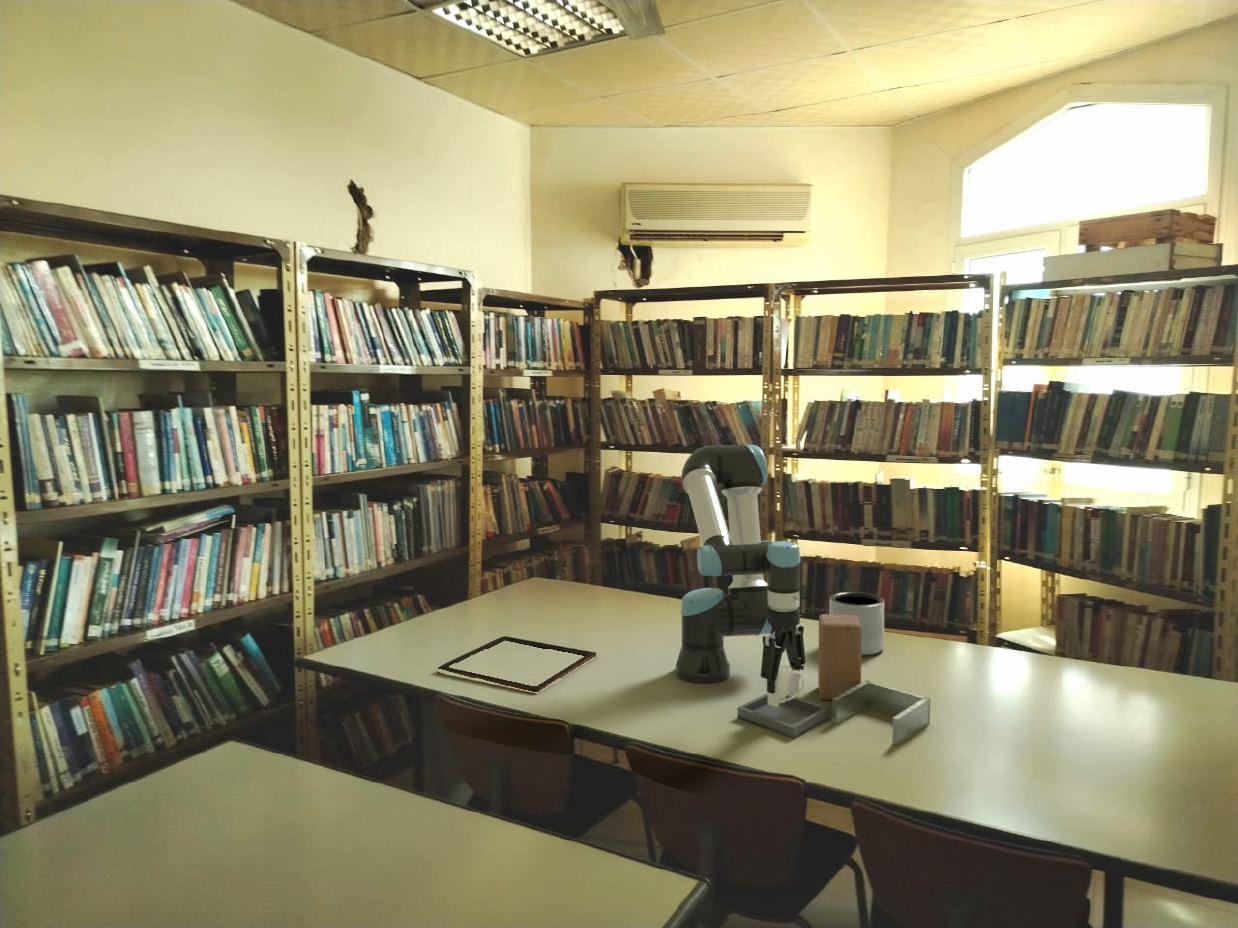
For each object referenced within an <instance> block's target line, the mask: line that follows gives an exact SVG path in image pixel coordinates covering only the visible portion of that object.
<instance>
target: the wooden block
mask: <svg viewBox="0 0 1238 928" xmlns="http://www.w3.org/2000/svg"><path fill="white" fill-rule="evenodd" d="M861 646H862V628H861V625H860V622H859V619H858V617H857V616H855V615H832V614H830V613H828V614H826V613H823V614H820V615H819V616H818V675H817V676H818V680H817V681H818V682H817V683H818V684H817V685H818V691H819V696H820V699H821V700H823V701H832V699H833V698H834V697H836V696H838V695H840V694H842V693H844V692H846V691H847V690H849V689H851V688H853V687H855V686H857V685H859V684H860V683H862V656H861Z"/></svg>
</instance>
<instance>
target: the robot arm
mask: <svg viewBox="0 0 1238 928" xmlns="http://www.w3.org/2000/svg"><path fill="white" fill-rule="evenodd" d="M767 481H768V464H767V460H766V456H765V454H764V451H763V450H762V449H761V447H759V446H758V445H755V444H746V443H745V444H744V443H743V444H727V445H726V444H725V445H723V444H722V445H705V446H702V447H699V448H698V449H696V450H695V451H693V452H692V453H691V454H690V455H689V457H687V459H686V461H685V463H684V465H683V467H682V470H681V482H682V483H681V484H682V487H683V491H685V493H687V494H688V498H689V501H690V504H691V508H692V511H693V515H694V519H695V523H696V526H697V532H698V535H699V538H700V543H701V546H699V547H698V549H697V553H696V563H697V570H698V573H699V574H700V575H701V576H704V577H721V576H723V577H724V576H732V582H731V584H730V585H729V586H728V587H727V590H728V593H724V591H723V590H722V589H720V588H717V587H713V588H712V587H704V588H697V589H694V590H691V591H689V592H687V593H686V594H685V595H683V597H682V599H681V605H680V606H681V607H680V608H681V610H680V614H681V647H680V650H679V654H678V657H677V661H676V664H675V675H676V676H677V677H678V678H679V679H681V680H683V681H687V682H691V683H697V684H698V683H699V684H710V683H711V684H712V683H718V682H722V681H725V680H726V679H728V678H729V677H730V676H731V665H730V663H729V662H730V661H728V658H727V654H726V650H725V647H724V643H725V641H724V638H725V637H746V636H757V637H758V636H760V635H763V636H762V644H763V646H762V647H763V649H762V658H761V667H760V668H761V670H760V677H761V678H762V679H764V680H765V679H767V691H766V693H767V692H768V704H769V705H772V706H775V707H779V679H777V675H778V670H779V666H780V664H781V660H782V657H783V653H784V652H786V655H787V659H788V662H789V666H790V667H792V671H797V672H799V673H800V674H801V672H800V671H804V668H805V665H806V654H805V644H804V643H805V642H804V641H805V640H804V631H805V628H804V626H802V625H800V622H801V621H800V620H801V618H800V617H801V615H800V614H801V612H800V611H801V610H800V608H799V607H800V604H801V603H800V600H801V599H800V590H801V589H800V588H801V587H800V586H801V583H800V582H801V576H800V575H801V565H800V564H801V560H802V558H801V553H800V546H799V545H798V543H795V542H791V541H785V540H784V541H780V540H778V541H771V540H761V538H762V537H761V528H760V526H761V524H760V516H759V503H758V502H759V500H758V496H759V494H760V493H761V492H762V490H763V485H765V484H766V483H767ZM717 486H718V487H719V486H720V488H721V489H720V491H721V493H722V495H724V496H725V497H726V501H727V512H728V515H727V516H728V525H727V521H726V518H725V515H724V512H723V508H722V505H721V501H720V499H719V495H718V492H717V488H716V487H717ZM764 575H766V577H767V582H766V580H765V579H764ZM766 635H767V636H766ZM800 677H801V676H800V675H799V674H797V673H796V674H791V676H790V682H789V688H788V691H787V694H788V695H791V696H793V695H795V694H796V693H797V692H798V691H799V690H800ZM796 697H797V698H799V697H800V694H799V695H798V696H796Z"/></svg>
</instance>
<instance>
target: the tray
mask: <svg viewBox="0 0 1238 928" xmlns="http://www.w3.org/2000/svg"><path fill="white" fill-rule="evenodd" d="M790 697H792V695H789V694H788V693H787V695H786V697H785V698H790ZM737 719H740V720H742V721H745V722H748V723H750V724H753V725H756V726H759V727H761V728H764V729H766V730H769V731H772V732H775V733H777V734H780V735H783V736H785V737H788V738H791V739H796V738H797V737H800V736H801V735H803V734H805V733H806V732H808V731H810V730H812V729H813V728H814V729H815V727H817V726H819V725H821V724H822V723H824V722H825V721H827V720H829V719H830V708H829V707H828V706H825V705H821V704H818V703H815V702H811V701H809V700H806V699H803V698H799V697H795V698H793V699H791V700H789V701H785V703H779V707H775V706H772V705H769V704H768V695H767V693H765V694H763V695H761V696H758V697H756V698H755V699H752V700H750V701H748V702H746V703H745V704H742V705H740V706H738V707H737Z"/></svg>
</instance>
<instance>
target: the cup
mask: <svg viewBox="0 0 1238 928" xmlns="http://www.w3.org/2000/svg"><path fill="white" fill-rule="evenodd" d="M796 673H797V674H799V675H800V676H799V677H800V678H801V688H799V691H798V692H797V693H796V694H795V695H793V696H792V695H791V696H792V697H790V698H785V697H786V695H787V694H788V688H789V682H790V676H791V674H796ZM777 679H779V703H785V701H789V700H791V699H793V698H795V697H796V696H798V695H799V696H800V694H801V693H802V692H803V691H804V688H805V680H804V677H803V675H802V674H801V672H800V673H799V672H797V671H792V667H790V665H787V664H785V663H780V666H779V670H778V675H777ZM764 685H765V690H766V694H767V695H768V692H767V679H765V678H764Z"/></svg>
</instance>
